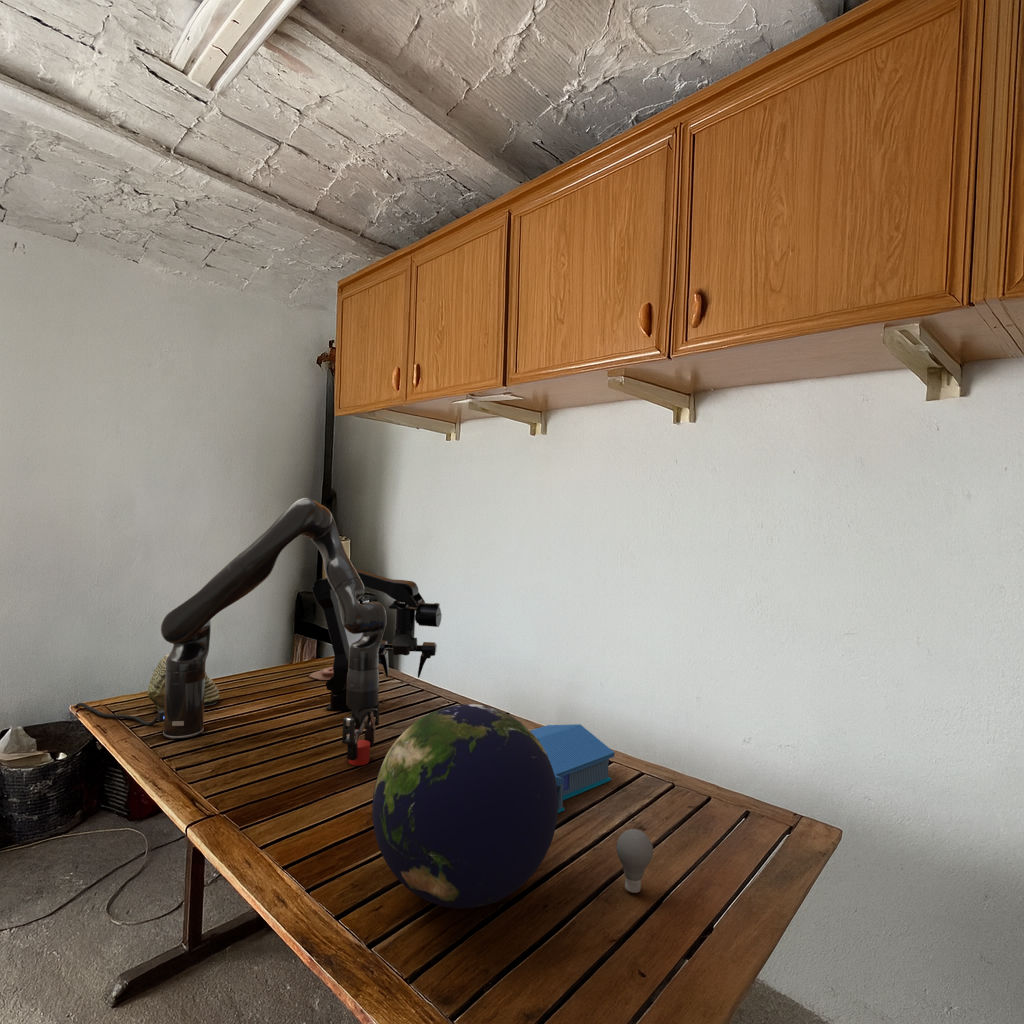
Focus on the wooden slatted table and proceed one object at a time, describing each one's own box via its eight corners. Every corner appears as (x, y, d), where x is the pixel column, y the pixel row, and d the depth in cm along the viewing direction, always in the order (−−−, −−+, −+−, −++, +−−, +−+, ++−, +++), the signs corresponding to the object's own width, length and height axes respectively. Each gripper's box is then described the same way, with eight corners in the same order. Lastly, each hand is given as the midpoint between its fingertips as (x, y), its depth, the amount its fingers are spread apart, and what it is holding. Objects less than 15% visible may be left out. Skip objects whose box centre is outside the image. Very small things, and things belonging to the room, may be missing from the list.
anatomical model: (305, 666, 217) (321, 658, 228) (304, 678, 217) (321, 669, 229) (340, 670, 215) (355, 662, 226) (340, 682, 215) (355, 673, 226)
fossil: (144, 707, 182) (145, 655, 182) (212, 696, 194) (213, 647, 194) (151, 716, 175) (153, 662, 175) (221, 703, 188) (223, 653, 188)
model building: (493, 841, 119) (496, 788, 119) (420, 792, 137) (422, 747, 137) (623, 784, 145) (625, 741, 145) (547, 750, 164) (548, 712, 163)
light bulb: (610, 879, 108) (613, 822, 108) (644, 879, 109) (647, 822, 109) (619, 902, 102) (622, 840, 102) (655, 901, 103) (658, 840, 103)
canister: (344, 761, 152) (344, 743, 152) (360, 755, 156) (360, 738, 156) (357, 767, 149) (358, 749, 149) (373, 761, 153) (374, 743, 153)
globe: (328, 919, 95) (336, 721, 95) (427, 827, 123) (434, 674, 122) (512, 985, 84) (522, 760, 83) (576, 867, 112) (584, 698, 111)
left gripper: (363, 696, 144) (360, 766, 145) (390, 679, 158) (388, 743, 158) (333, 692, 146) (331, 762, 146) (362, 676, 160) (360, 739, 160)
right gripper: (368, 628, 178) (365, 684, 178) (434, 631, 179) (432, 686, 179) (375, 621, 189) (372, 673, 189) (437, 623, 190) (435, 675, 190)
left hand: (360, 752), depth 152 cm, fingers open, 8 cm apart
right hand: (402, 677), depth 187 cm, fingers open, 9 cm apart
